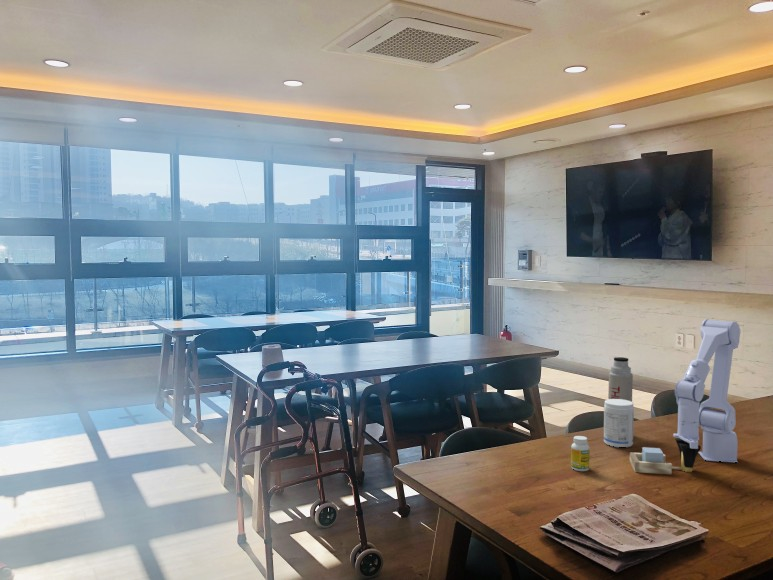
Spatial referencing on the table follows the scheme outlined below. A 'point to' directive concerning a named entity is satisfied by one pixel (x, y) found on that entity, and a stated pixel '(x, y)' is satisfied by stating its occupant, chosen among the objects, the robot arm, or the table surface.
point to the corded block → (660, 458)
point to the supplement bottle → (580, 454)
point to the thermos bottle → (620, 380)
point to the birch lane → (649, 465)
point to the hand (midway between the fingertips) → (687, 465)
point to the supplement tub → (618, 422)
